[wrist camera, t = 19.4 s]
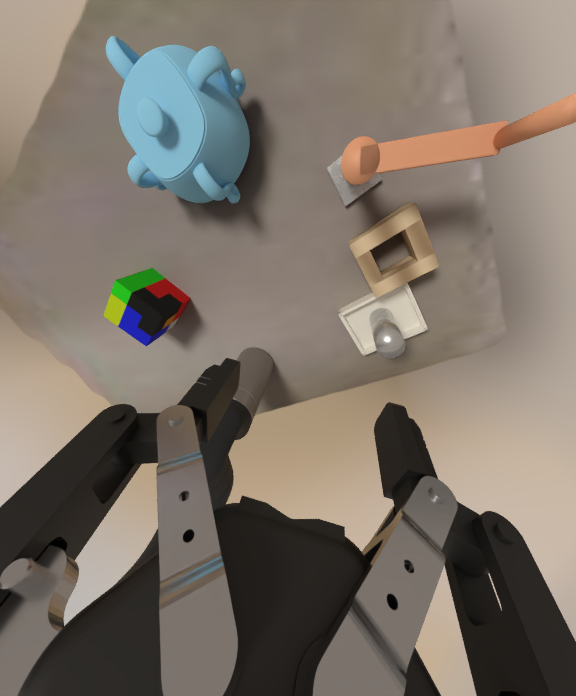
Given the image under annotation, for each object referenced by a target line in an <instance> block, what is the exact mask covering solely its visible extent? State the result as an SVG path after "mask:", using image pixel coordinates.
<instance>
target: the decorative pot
mask: <svg viewBox="0 0 576 696" xmlns="http://www.w3.org/2000/svg"><path fill="white" fill-rule="evenodd" d="M106 54H107V57H108V59H109V61H110V63H111V64H112V66H113V67H114V68H115V70H116V71H117V72H118V73H119V75H120V76H121V77H122V78H123V79H124V80H125V83H124V86H123V89H122V92H121V96H120V101H119V121H120V125H121V129H122V131H123V133H124V135H125V137H126V139H127V140H128V142H129V143H130V145H131V146H132V148H133V149H134V151H135V152H136V153H137V154H136V155H135V156H134V157H133V158H132V159H131V161H130V162H129V165H128V174H129V176H130V178H131V180H132V181H133V182H134V183H135V184H136V185H137V186H139V187H142V188H149V187H154V186H155V187H156V188H157V189H159V190H165V189H167V188H168V189H169V190H170V191H171V192H173V193H174V194H176V195H177V196H179V197H180V198H183V199H185V200H187V201H190V202H194V203H206V202H210V201H212V200H216V201H220V200H223V199H224V198H225V197H227V198H228V200H229V201H230V202H231V203H233V204H234V203H237V202H238V201H239V199H240V193H239V190H238V189H237V187H236V186H235V184H234V183H235V182H236V180H237V179H238V177H239V176H240V174H241V172H242V170H243V168H244V165H245V163H246V160H247V157H248V154H249V148H250V135H249V130H248V125H247V122H246V119H245V117H244V114H243V112H242V110H241V107H240V105H239V103H238V101H237V99H238V98H240V97H241V95H242V94H243V92H244V90H245V87H246V83H245V78H244V76H243V73H242V72H241V71H240V70H239V69H234V70H233V71H232V72H230V68H229V65H228V62H227V60H226V58H225V57H224V55H223V54H222V52H221V51H220V50H219V49H218V48H216V47H214V46H208V47H205V48H203V49H202V50H200V51H199V52H196V51H194V50H192V49H190V48H187V47H185V46H180V45H167V46H163V47H158V48H155V49H153V50H151V51H149V52H147V53H145V54H144V55H143V56H142V57H140V56H139V55H138V54H137V53H135V52H134V51H133V50H132V49H131V48H130V47H129V46H128V45H127V44H125V43H124V42H123V41H122V40H120V39H119V38H118V37H115V36H112V37H110V38H109V40H108V42H107V45H106ZM218 70H220V72H221V74H220V73H219V72H218ZM148 170H150V171H151V172H147V171H148Z"/></svg>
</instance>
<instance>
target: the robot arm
mask: <svg viewBox="0 0 576 696" xmlns="http://www.w3.org/2000/svg"><path fill="white" fill-rule="evenodd" d="M273 369H274V363H273V360H272V358H271V357H270V355H269V354H268V353H266V352H265V351H263V350H261V349H258V348H248V349H246V350H244V351H243V352H242V353H241V354H240V356H239V357H238V359H237V360H233V359H229V358H226V359H225V360H224V362H223V363H222V364H221V366H218V365H213V366H211V367H209V368H208V369H206V370H205V371H204V373H203V374H202V375H201V377H200V378H199V379H198V380H197V381H196V383H195V384H194V385H193V386H192V387H191V389H190V390H189V391H188V392H187V394H186V395H185V396H184V397H183V398H182V400H181V401H180V402H179V403H178V404H177V405H174V406H171V407H168V408H166V409H165V410H163V411H162V412H161V413H137V411H136V409H135V408H134V407H133V406H131V405H128V404H119V405H114V406H111V407H109V408H107V409H105V410H103V411H102V412H101V413H99V415H97V416H96V417H95V418H94V419H93V420H92V421H91V422H90V423H89V424H88V425H87V426H86V427H85V428H84V429H83V430H82V431H80V432H79V433H78V435H76V436H75V437H74V438H73V439H72V440H71V441H70V442H69V443H68V444H67V445H66V446H65V447H64V448H62V450H60V451H59V452H58V453H57V454H56V455H55V456H54V457H53V458H52V459H51V460H50V461H49V462H48V463H47V464H46V465H45V466H43V467H42V468H41V469H40V470H39V471H38V472H37V473H36V474H35V475H34V476H33V477H32V478H31V479H30V480H29V481H28V482H27V483H26V484H25V485H23V486H22V487H21V488H20V489H19V490H18V491H17V492H16V493H15V494H14V495H13V496H12V497H11V498H10V499H9V500H8V501H6V502H5V503H4V504H3V505H2V506H1V507H0V696H441V695H440V693H439V691H438V689H437V687H436V686H435V684H434V682H433V680H432V678H431V676H430V674H429V673H428V671H427V669H426V667H425V665H424V663H423V661H422V660H421V658H420V656H419V654H418V652H417V650H416V648H415V645H416V642H417V639H418V636H419V633H420V631H421V628H422V625H423V623H424V620H425V617H426V614H427V611H428V609H429V606H430V603H431V600H432V598H433V595H434V592H435V589H436V586H437V584H438V581H439V578H440V575H441V573H442V570H443V567H444V564H445V568H446V573H447V576H448V580H449V585H450V589H451V593H452V597H453V601H454V605H455V609H456V613H457V617H458V621H459V625H460V629H461V633H462V637H463V641H464V645H465V650H466V654H467V658H468V662H469V666H470V670H471V674H472V678H473V682H474V686H475V690H476V694H477V696H576V641H575V640H574V638H573V636H572V634H571V632H570V630H569V628H568V626H567V624H566V622H565V620H564V618H563V616H562V614H561V612H560V610H559V608H558V606H557V604H556V602H555V600H554V598H553V596H552V594H551V592H550V590H549V588H548V586H547V584H546V582H545V580H544V578H543V576H542V574H541V572H540V570H539V568H538V566H537V564H536V562H535V561H534V558H533V557H532V554H531V553H530V550H529V548H528V547H527V544H526V543H525V541H524V539H523V537H522V536H521V534H520V533H519V531H518V530H517V529H516V528H515V527H514V526H513V525H512V524H511V523H510V522H509V521H508V520H507V519H505V518H504V517H503V516H501V515H499V514H497V513H495V512H492V511H487V512H484V513H483V514H481V515H479V514H477V513H476V512H474V511H472V510H470V509H469V508H467V507H465V506H464V505H462V504H460V503H459V502H457V501H456V498H455V497H454V495H453V493H452V491H451V490H450V489H449V488H448V487H447V486H446V485H445V484H444V483H443V482H441V481H440V480H438V478H437V475H436V472H435V469H434V467H433V464H432V461H431V458H430V455H429V452H428V450H427V448H426V444H425V441H424V440H423V436H422V433H421V430H420V428H419V427H418V426H417V424H416V423H415V421H414V420H413V419H411V418H409V417H408V414H407V411H406V408H405V407H404V406H401V405H397V404H394V403H390V402H389V403H387V404H386V406H385V408H384V409H383V411H382V412H381V414H380V416H379V417H378V419H377V421H376V423H375V427H374V434H375V441H376V447H377V454H378V461H379V468H380V474H381V481H382V488H383V494H384V497H387V498H390V499H393V501H394V507H392V509H391V510H390V512H389V513H388V515H387V516H386V518H385V520H384V521H383V523H382V524H381V526H380V527H379V529H378V531H377V532H376V533H375V535H374V537H373V538H372V540H371V541H370V542H369V543H368V545H367V546H366V547H365V548H364V550H363V551H362V552H361V551H360V550H359V548H358V547H357V546H356V545H355V544H354V543H353V542H351V541H350V540H349V539H348V538H346V537H345V533H344V532H345V531H344V527H343V526H340V525H336V524H333V523H330V522H327V521H323V520H320V519H291V518H289V517H287V516H286V515H284V514H283V513H281V512H280V511H278V510H276V509H275V508H273V507H272V506H270V505H269V504H267V503H265V502H262V501H258V500H255V499H252V498H248V497H245V496H242V497H241V500H240V503H231V504H226V502H227V500H228V498H229V495H230V493H231V490H232V486H233V469H232V465H231V462H230V459H229V456H228V454H229V451H230V449H231V446H232V444H233V442H234V440H238V439H241V438H243V437H244V436H245V435H246V434H247V432H248V430H249V428H250V425H251V423H252V421H253V418H254V416H255V413H256V411H257V408H258V406H259V403H260V401H261V398H262V396H263V393H264V391H265V389H266V386H267V384H268V381H269V379H270V376H271V374H272V371H273ZM144 463H158V466H157V502H158V503H157V504H158V529H157V531H156V533H155V534H154V536H153V538H152V540H151V541H150V543H149V545H148V546H147V548H146V549H145V551H144V552H143V554H142V555H141V556H140V558H139V559H138V560H137V561H136V563H135V564H134V565H133V566H132V568H131V569H130V570H129V571H128V572H127V573H126V574H125V575H124V576H123V577H122V578H121V579H120V580H119V581H118V582H117V583H116V584H115V585H114V586H113V587H112V588H110V589H109V590H108V591H107V592H105V593H104V594H102V595H101V596H100V597H99V598H97V599H96V600H95V601H93V602H92V603H91V604H90V605H88V606H87V607H86V608H84V609H83V610H82V611H81V612H79V613H78V614H77V615H76V616H75V617H74V618H72V620H70V621H69V622H68V623H67V624H66V625H65V626H64V621H63V617H64V611H65V607H66V604H67V602H68V599H69V597H70V595H71V594H72V592H73V590H74V588H75V585H76V583H77V580H78V575H79V568H78V565H77V563H76V562H75V559H76V558H77V556H78V555H79V553H80V552H81V550H82V549H83V547H84V546H85V545H86V543H87V542H88V540H89V539H90V537H91V536H92V535H93V533H94V532H95V530H96V529H97V527H98V526H99V524H100V523H101V522H102V520H103V519H104V517H105V516H106V514H107V513H108V511H109V510H110V509H111V507H112V506H113V504H114V503H115V501H116V500H117V499H118V497H119V496H120V494H121V493H122V491H123V490H124V488H125V487H126V485H127V484H128V483H129V481H130V480H131V478H132V477H133V475H134V474H135V473H136V471H137V470H138V468H139V467H140V465H141V464H144ZM225 504H226V505H225ZM488 573H490V576H491V578H492V581H493V584H494V587H495V589H496V592H497V595H498V598H499V600H500V603H501V607H502V611H501V608H500V606H499V603H498V600H497V597H496V594H495V592H494V589H493V586H492V584H491V581H490V578H489V575H488Z"/></svg>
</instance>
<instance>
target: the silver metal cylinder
mask: <svg viewBox="0 0 576 696" xmlns="http://www.w3.org/2000/svg"><path fill="white" fill-rule="evenodd" d="M369 322H370V326H371V330H372V334H373V338H374V342H375V346H376V350H377V353H378V354H379V355H380V356H382V357H384V358H395V357H398V356H399V355H401V354H402V353H403V352H404V350H405V348H406V343H405V340H404V338H403V336H402V334H401V332H400V330H399V328H398V325H397V323H396V321H395V319H394V317H393V315H392V313H391V311H390V310H388V309H386V308H379V309H376V310H374V311H373V312H372V313H371V314H370V317H369Z"/></svg>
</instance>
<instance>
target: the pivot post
mask: <svg viewBox="0 0 576 696" xmlns="http://www.w3.org/2000/svg"><path fill="white" fill-rule="evenodd" d="M342 156H343V155H342ZM342 156H341V157H340V158H339V159H338V160H336V161H335V162H334V163H333V164H332V165H330V166H329V167H328V168H327V169H328V172H329V174H330V176H331V178H332V180H333V182H334V184H335V186H336V188H337V190H338V192H339V194H340V196H341V198H342V200H343V202H344V205H345V206H347V205H348V204H349V203H351V202H352V201H354V200H355V199H356V198H358V197H359V196H360V195H362V194H363V193H365V192H366V191H367V190H369V189H370V188H371V187H373V186H374V185H376V184H377V183H378V182H380V181H381V180H382V178H381V176H380V174H379V173H377V174H374V175H373V176H372V177H371V178H370V179H369V180H368V181H367V182H365V183H363V184H360V185H353V184H350V183H349V182H347V181H346V180H345V178H344V177H343V175H342V171H341V160H342Z"/></svg>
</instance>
